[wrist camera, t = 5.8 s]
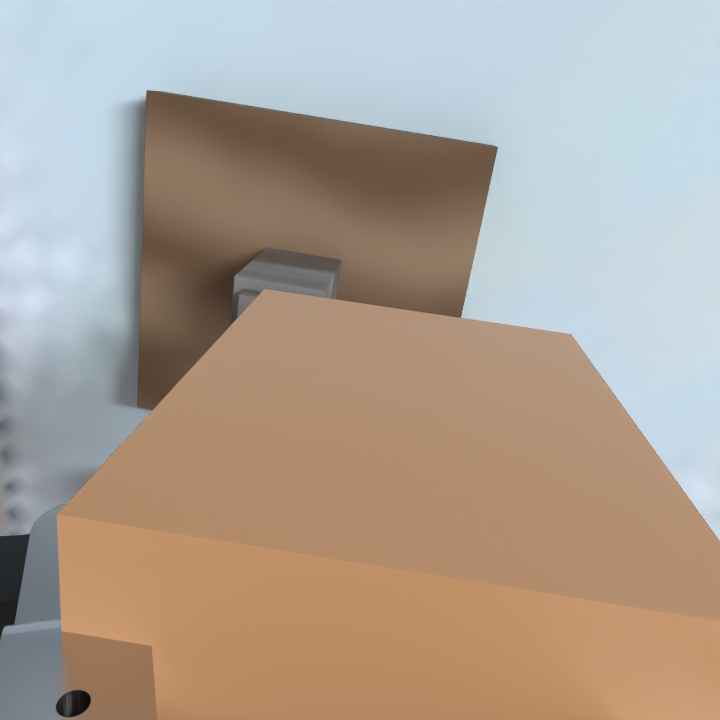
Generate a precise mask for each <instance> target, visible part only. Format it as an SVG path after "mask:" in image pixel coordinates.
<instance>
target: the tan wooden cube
mask: <svg viewBox="0 0 720 720" xmlns="http://www.w3.org/2000/svg"><path fill="white" fill-rule="evenodd" d="M57 531H58V556H59V581H60V606H61V631H64V632H71V633H77V634H83V635H89V636H95V637H101V638H107V639H113V640H119V641H125V642H131V643H137V644H143V645H149V646H152V656H153V669H154V683H155V696H156V709H157V720H720V541H719V539H718V538H717V537H716V535H715V534H714V532H713V531H712V530H711V528H710V527H709V525H708V524H707V523H706V521H705V520H704V519H703V517H702V516H701V514H700V513H699V512H698V510H697V509H696V507H695V506H694V505H693V503H692V502H691V500H690V499H689V498H688V496H687V495H686V493H685V492H684V491H683V489H682V488H681V487H680V485H679V484H678V482H677V481H676V480H675V478H674V477H673V475H672V474H671V473H670V471H669V470H668V468H667V467H666V466H665V464H664V463H663V461H662V460H661V459H660V457H659V456H658V455H657V453H656V452H655V450H654V449H653V448H652V446H651V445H650V443H649V442H648V441H647V439H646V438H645V436H644V435H643V434H642V432H641V431H640V429H639V428H638V427H637V425H636V424H635V423H634V421H633V420H632V418H631V417H630V416H629V414H628V413H627V411H626V410H625V409H624V407H623V406H622V404H621V403H620V402H619V400H618V399H617V397H616V396H615V395H614V393H613V392H612V391H611V389H610V388H609V386H608V385H607V384H606V382H605V381H604V379H603V378H602V377H601V375H600V374H599V372H598V371H597V370H596V368H595V367H594V365H593V364H592V363H591V361H590V360H589V359H588V357H587V356H586V354H585V353H584V352H583V350H582V349H581V347H580V346H579V345H578V343H577V342H576V340H575V339H574V338H573V336H572V335H571V334H567V333H560V332H553V331H546V330H539V329H533V328H526V327H519V326H512V325H505V324H499V323H492V322H485V321H478V320H472V319H465V318H458V317H451V316H444V315H438V314H431V313H424V312H417V311H410V310H404V309H397V308H390V307H383V306H376V305H370V304H363V303H356V302H349V301H342V300H336V299H329V298H322V297H315V296H308V295H302V294H295V293H288V292H281V291H275V290H268V289H264V290H263V291H262V292H261V293H260V294H259V295H258V297H257V298H256V299H255V300H254V301H253V302H252V303H251V304H250V305H249V306H248V307H247V308H246V310H245V311H244V312H243V313H242V314H241V315H240V316H239V317H238V318H237V319H236V320H235V322H234V323H233V324H232V325H231V326H230V327H229V328H228V329H227V330H226V331H225V332H224V333H223V335H222V336H221V337H220V338H219V339H218V340H217V341H216V342H215V343H214V344H213V345H212V346H211V348H210V349H209V350H208V351H207V352H206V353H205V354H204V355H203V356H202V357H201V358H200V360H199V361H198V362H197V363H196V364H195V365H194V366H193V367H192V368H191V369H190V370H189V371H188V373H187V374H186V375H185V376H184V377H183V378H182V379H181V380H180V381H179V382H178V383H177V384H176V386H175V387H174V388H173V389H172V390H171V391H170V392H169V393H168V394H167V395H166V396H165V398H164V399H163V400H162V401H161V402H160V403H159V404H158V405H157V406H156V407H155V408H154V409H153V411H152V412H151V413H150V414H149V415H148V416H147V417H146V418H145V419H144V420H143V421H142V422H141V424H140V425H139V426H138V427H137V428H136V429H135V430H134V431H133V432H132V433H131V434H130V436H129V437H128V438H127V439H126V440H125V441H124V442H123V443H122V444H121V445H120V446H119V447H118V449H117V450H116V451H115V452H114V453H113V454H112V455H111V456H110V457H109V458H108V459H107V460H106V462H105V463H104V464H103V465H102V466H101V467H100V468H99V469H98V470H97V471H96V472H95V474H94V475H93V476H92V477H91V478H90V479H89V480H88V481H87V482H86V483H85V484H84V485H83V487H82V488H81V489H80V490H79V491H78V492H77V493H76V494H75V495H74V496H73V497H72V498H71V500H70V501H69V502H68V503H67V504H66V505H65V506H64V507H63V508H62V509H61V510H60V512H59V513H58V514H57Z"/></svg>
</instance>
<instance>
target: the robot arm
mask: <svg viewBox="0 0 720 720" xmlns="http://www.w3.org/2000/svg"><path fill="white" fill-rule="evenodd" d="M66 504H67V503H66ZM66 504H63V505H60V506H58V507H56V508H53V509H51V510H50V511H48V512H46V513H45V514H43V515H42V516H41V517H40V518H39V519H38V520H37V521H36V522H35V523H34V525H33V526H32V529H31V532H30V534H26V535H17V536H0V720H157V709H156V696H155V683H154V669H153V656H152V646H149V645H143V644H137V643H131V642H125V641H119V640H113V639H107V638H101V637H95V636H89V635H83V634H77V633H71V632H64V631H61V606H60V581H59V556H58V531H57V514H58V513H59V512H60V510H61V509H62V508H63V507H64V506H65V505H66Z"/></svg>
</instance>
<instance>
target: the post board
mask: <svg viewBox="0 0 720 720" xmlns="http://www.w3.org/2000/svg"><path fill="white" fill-rule="evenodd" d="M497 149H498V147H496V146H493V145H487V144H481V143H474V142H468V141H462V140H456V139H450V138H444V137H438V136H431V135H425V134H419V133H413V132H407V131H401V130H395V129H388V128H382V127H376V126H370V125H364V124H358V123H352V122H346V121H339V120H333V119H327V118H321V117H315V116H309V115H303V114H296V113H290V112H284V111H278V110H272V109H266V108H260V107H253V106H247V105H241V104H235V103H229V102H223V101H217V100H210V99H204V98H198V97H192V96H186V95H180V94H174V93H167V92H161V91H149V90H147V95H146V129H145V164H144V198H143V232H142V267H141V301H140V336H139V370H138V405H137V407H140V408H145V409H151V410H153V409H154V408H155V407H156V406H157V405H158V404H159V403H160V402H161V401H162V400H163V399H164V398H165V396H166V395H167V394H168V393H169V392H170V391H171V390H172V389H173V388H174V387H175V386H176V384H177V383H178V382H179V381H180V380H181V379H182V378H183V377H184V376H185V375H186V374H187V373H188V371H189V370H190V369H191V368H192V367H193V366H194V365H195V364H196V363H197V362H198V361H199V360H200V358H201V357H202V356H203V355H204V354H205V353H206V352H207V351H208V350H209V349H210V348H211V346H212V345H213V344H214V343H215V342H216V341H217V340H218V339H219V338H220V337H221V336H222V335H223V333H224V332H225V331H226V330H227V329H228V328H229V327H230V326H231V325H232V324H233V323H234V322H235V320H236V319H237V318H238V317H239V316H240V315H241V314H242V313H243V312H244V311H245V310H246V308H247V307H248V306H249V305H250V304H251V303H252V302H253V301H254V300H255V299H256V298H257V297H258V295H259V294H260V293H261V292H262V291H263V290H264V289H268V290H275V291H281V292H288V293H295V294H302V295H308V296H315V297H322V298H329V299H336V300H342V301H349V302H356V303H363V304H370V305H376V306H383V307H390V308H397V309H404V310H410V311H417V312H424V313H431V314H438V315H444V316H451V317H458V318H461V315H462V310H463V305H464V301H465V296H466V291H467V287H468V282H469V278H470V273H471V268H472V264H473V259H474V255H475V250H476V245H477V241H478V236H479V232H480V227H481V222H482V218H483V213H484V208H485V204H486V199H487V195H488V190H489V185H490V181H491V176H492V172H493V167H494V162H495V158H496V153H497Z"/></svg>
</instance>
